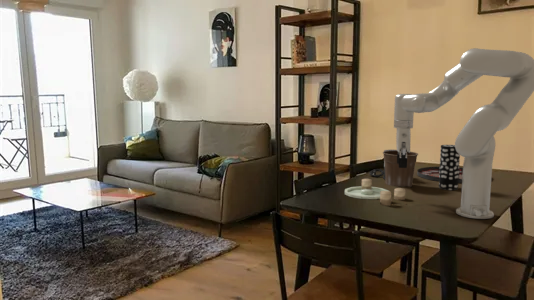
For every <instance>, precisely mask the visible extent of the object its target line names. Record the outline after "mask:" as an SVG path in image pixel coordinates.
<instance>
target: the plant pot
mask: <svg viewBox="0 0 534 300" xmlns="http://www.w3.org/2000/svg"><path fill="white" fill-rule="evenodd" d="M382 154H383V162H384V161H385V178H386V179H385V184H386V185H388V186H392V187H409V188H411V187H413V181H414V173H415V167H416V163H417V160H418V159H417V157H418V156H419V153H418V152H416V151H410V153H408V152H407V168H399V167H398V166H399V164H397V154H398V151H384V150H383V151H382Z"/></svg>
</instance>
